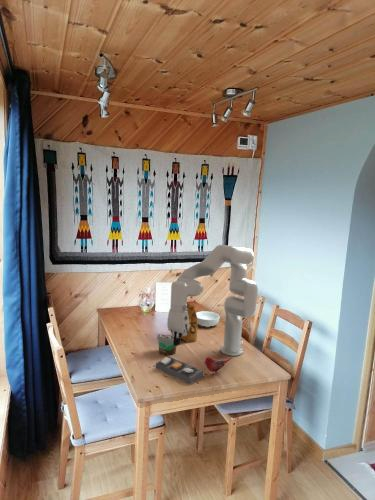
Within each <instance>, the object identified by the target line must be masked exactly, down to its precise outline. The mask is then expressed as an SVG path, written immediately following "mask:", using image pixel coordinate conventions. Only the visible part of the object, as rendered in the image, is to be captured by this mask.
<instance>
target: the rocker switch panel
mask: <svg viewBox="0 0 375 500" xmlns="http://www.w3.org/2000/svg"><path fill="white" fill-rule="evenodd" d="M166 357H167V358H170V359H171V361H170V362H169V363H168V364H166V365H164V364H162V363H161V361H162V360H163V359H161V360H159V361H157V362H155V369H156V370H157V371H161V372H163V373H164V374H167V375H169V376H172V377H174V378H176V379H178V380H179V381H182V382H184V383H186V384H189V385H192V384H193V383H195V382H197V381H199V380H200V379H202V378H203V377H204V370H202V369H200V368H198V367H197V366H193V365H192V364H188V363H186V362H184V361H181V360H179V359H176V358H174V357H171V356H166ZM176 362H178V363H180V364H182V366H181V367H179V368H178V369H175V368H173V367H172V365H173V364H175V363H176ZM184 368H190V369H192V370H194V371H193V372H190V373H188V372H185V371H183V369H184Z"/></svg>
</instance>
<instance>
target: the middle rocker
mask: <svg viewBox="0 0 375 500" xmlns="http://www.w3.org/2000/svg"><path fill="white" fill-rule="evenodd" d="M181 366H182V364H180V363H178V362H176V363H175V364H173V365H172V367H173V368H175V369H178V368H179V367H181Z"/></svg>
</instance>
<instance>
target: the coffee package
mask: <svg viewBox="0 0 375 500" xmlns="http://www.w3.org/2000/svg"><path fill="white" fill-rule="evenodd" d="M187 308H188V310H187V311H188V316H189V331H187V335H186V336H182V337H181V340H183V341H185V342H186V343H192V342H196V341H198V329H199V328H198V325H199V324H198V323H197V315H196V313H197V312H196V309H195V306H194V305H192V304H191V303H189V302H187Z"/></svg>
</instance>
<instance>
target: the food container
mask: <svg viewBox="0 0 375 500" xmlns="http://www.w3.org/2000/svg"><path fill="white" fill-rule="evenodd" d="M156 339H157V340H158V341H157V342H158V353H159V354H160V355H162V356H166V357H171V356H174V355H176V352H177V348H178V346H175V345H173V340H174V337H173V336H171V335H168V334H160V332H158V334H157V336H156Z"/></svg>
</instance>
